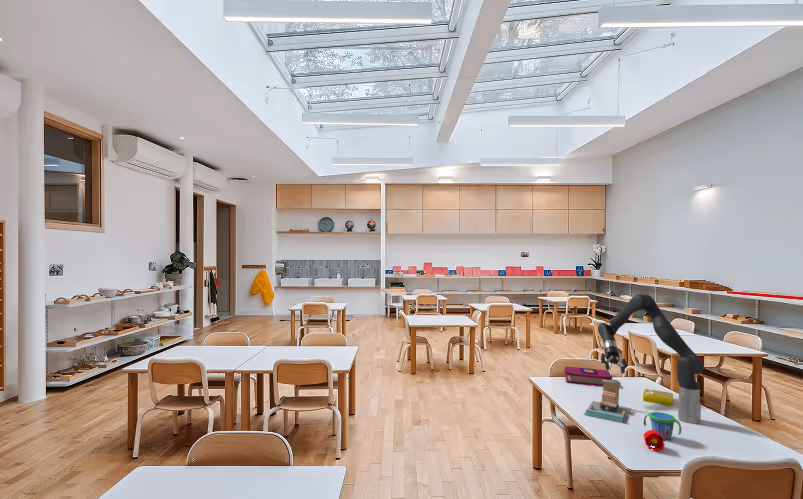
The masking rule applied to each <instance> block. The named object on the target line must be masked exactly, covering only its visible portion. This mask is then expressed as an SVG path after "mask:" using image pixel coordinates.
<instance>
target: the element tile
mask: <svg viewBox="0 0 803 499" xmlns="http://www.w3.org/2000/svg"><path fill="white" fill-rule="evenodd" d="M642 401H643V402H645V403H646V402H647V403H653V404H656V405H657V404H658V405H663V406H668V407H673V403H674V394H673V393H672V392H669V391H661V390H655V389H650V388H645V389H644V390H643V394H642Z"/></svg>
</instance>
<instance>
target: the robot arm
mask: <svg viewBox="0 0 803 499" xmlns="http://www.w3.org/2000/svg"><path fill="white" fill-rule="evenodd" d="M638 311H645V312H646V313H647V315H649V317H650V318H651V321H652V327H653V330H654V332H655V334H656V335H657V337H658V338H659V339H660V340H661V342H662V343H664V344H665V345H666V346H668V347H669V348H670V349H672V350H673V351H675V352H676V354H678V355H679V356H680V358H678V361H677V364H676V373H677V374H676V375H677V376H676V378H677V382H678V410H677V412H678V413H677V418H678V419H677V420H680V421H682V422H685V423H691V424H699V423H700V422H701V420H702V419H701V418H702V415H701V414H702V413H701V412H702V403H700V398H701V396H700V393H701V384H700V382H699V381H696V380H695V375H700V374H702V373H703V372H704V370H705V366H704V363H703V361H702V359H701V358H700V357H699V355H697V354H696V352H694V351H693V350H692V349H691V347H689V345H688V344H687V343H686V342H685V340H684V339H683V338H682V336H681V335H680V334H679V333H678V332H677V330H676V329H675V327H674V326H673V325H672V324H671V322H670V321H669V319H667V317H666V316H665V315H664V313H663V312H662V310H661V309H660V307H659V306H658V304H657V302H656V300H655V299H654V298H653V297H652V296H651V295H650V294H641V293H640V294H639V293H638V294H635V295H634V296H632V297H631V298H630V300H629V301H628V302H627V304H626V305H625V306H624V307H622V309H621V310H620V311H619V312H618V313H616V314H615V315H614V316H612V318H610V319H609V322H608V323H609V324H608V323H607V322H600V323H599V324H598V325H597V332H598V334H599V336H600V337H601V339H602V342H603V351H604V352H603V353H601V354H600V362H601V364H604V366H605V370H608V371H609V370H610V364H614V365H615V366H616V367H619V369H620V372H621V375H624V374H625V372H626V369H627V367H628V364H627V362H626V358H620V354H619V353H620V352H619V348H618V345H617V342H616V338H615V335H616V334H617V331H618V330H619V329H620V328H621V327H623V325H625V324H626V323H627V322H628V321H629V320H630V317H631V316H632V314H634V313H636V312H638Z"/></svg>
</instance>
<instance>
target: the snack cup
mask: <svg viewBox="0 0 803 499" xmlns="http://www.w3.org/2000/svg"><path fill="white" fill-rule="evenodd" d="M647 417H649V420H650V422H651V423H650V425H651V430H654V431H657V432H658V433H659V434H660V435H661V436H662V437H663V438H664V440H671V439H672V435H673V431H674V426H675V423H676V424H677V426H678V436H679V435H681V433H682V431H683V430H682V425H681V423H680V421H679V420H678V419H676V418H675V416H674V415H672V414H669V413H665V412H660V411H653V412H650V413H647V414H645V416H644V419H643V426H644V427H645V426H647V421H646V420H647V419H646V418H647Z"/></svg>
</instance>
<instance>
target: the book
mask: <svg viewBox="0 0 803 499" xmlns="http://www.w3.org/2000/svg"><path fill="white" fill-rule="evenodd" d="M564 379H565V382H566V383H567V384H574V385H582V384H583V385H584V386H585V385H586V386H592V385H594V387H602V386H603V382H602V380H609V381H613V376H612V375H611V373H610V372H609V370H607V369H597V368H587V367H577V366H575V367H574V366H564Z"/></svg>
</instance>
